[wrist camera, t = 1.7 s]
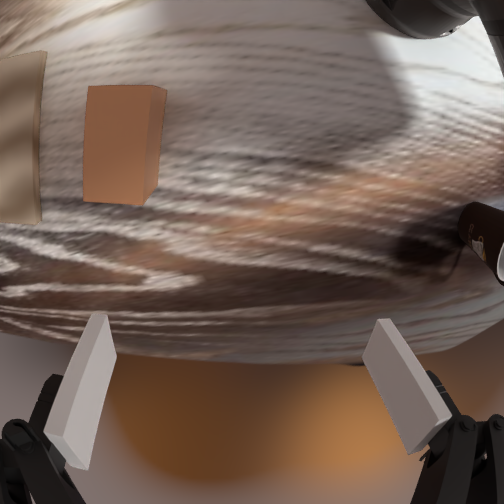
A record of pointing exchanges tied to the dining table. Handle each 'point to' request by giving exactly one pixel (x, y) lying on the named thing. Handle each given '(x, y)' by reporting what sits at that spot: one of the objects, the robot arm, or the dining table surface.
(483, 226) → the coffee mug
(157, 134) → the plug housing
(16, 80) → the board
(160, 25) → the dining table surface
